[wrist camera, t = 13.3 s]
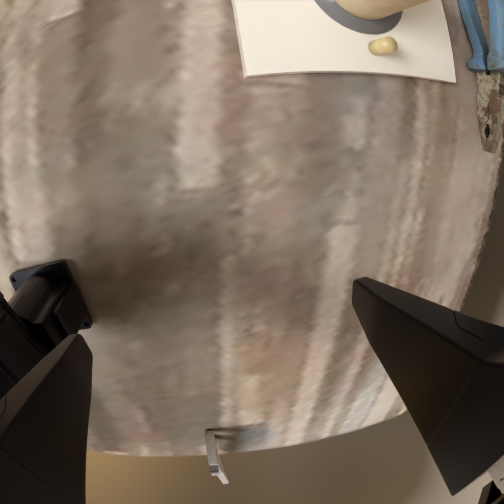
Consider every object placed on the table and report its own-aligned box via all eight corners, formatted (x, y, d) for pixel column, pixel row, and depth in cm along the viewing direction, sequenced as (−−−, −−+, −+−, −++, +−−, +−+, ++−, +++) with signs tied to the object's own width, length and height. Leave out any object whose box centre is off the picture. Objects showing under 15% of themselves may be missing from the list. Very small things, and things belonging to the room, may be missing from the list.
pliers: (469, 146, 22) (515, 160, 17) (457, 143, 22) (504, 156, 16) (462, -23, 13) (501, -32, 8) (449, -32, 13) (488, -43, 8)
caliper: (203, 427, 32) (208, 469, 27) (212, 426, 32) (217, 469, 27) (222, 479, 41) (227, 508, 36) (229, 478, 41) (233, 508, 36)
